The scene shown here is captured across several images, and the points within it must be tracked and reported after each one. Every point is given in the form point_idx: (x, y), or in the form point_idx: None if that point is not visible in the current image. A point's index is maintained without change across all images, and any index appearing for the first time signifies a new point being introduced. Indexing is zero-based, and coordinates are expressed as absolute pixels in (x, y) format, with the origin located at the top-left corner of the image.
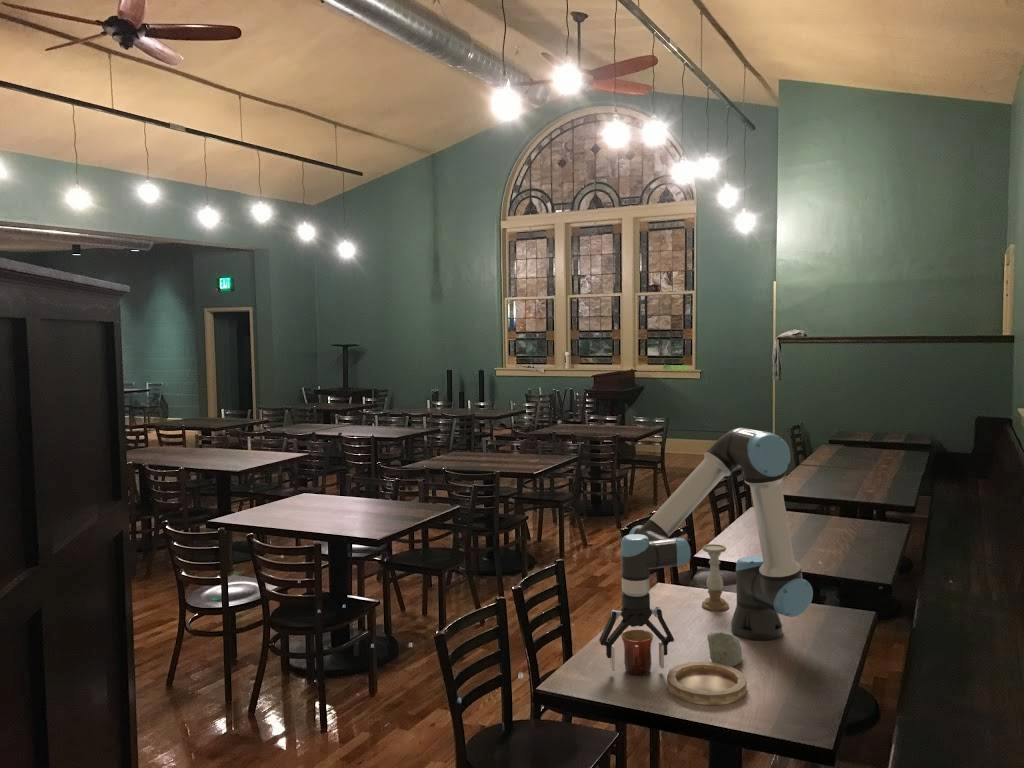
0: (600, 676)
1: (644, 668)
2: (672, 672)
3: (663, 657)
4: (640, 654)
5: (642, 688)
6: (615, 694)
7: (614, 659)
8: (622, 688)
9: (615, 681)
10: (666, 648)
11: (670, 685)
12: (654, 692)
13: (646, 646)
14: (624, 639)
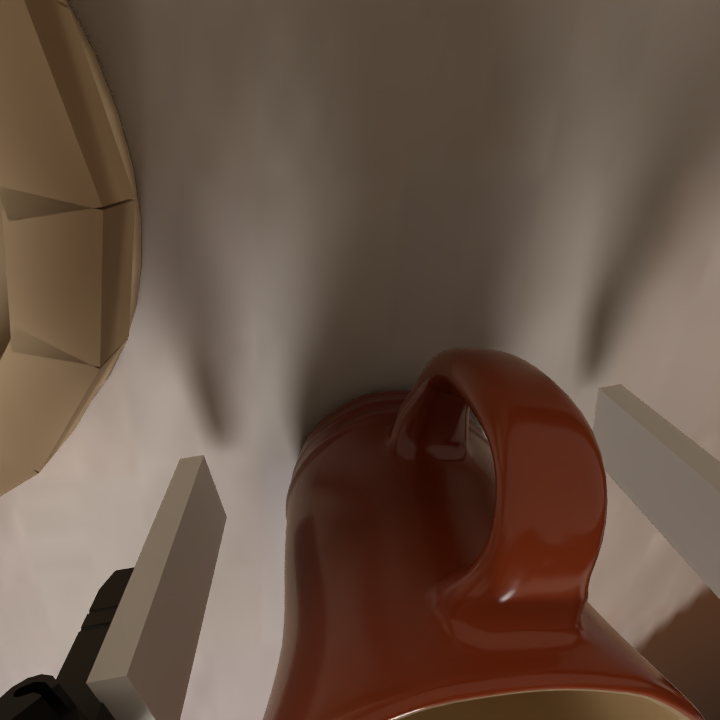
0: (664, 372)
1: (351, 421)
2: (54, 319)
3: (153, 535)
4: (411, 514)
5: (381, 157)
6: (659, 7)
7: (670, 448)
8: (560, 156)
9: (582, 295)
10: (83, 645)
11: (43, 5)
12: (267, 55)
13: (341, 623)
14: (701, 715)
